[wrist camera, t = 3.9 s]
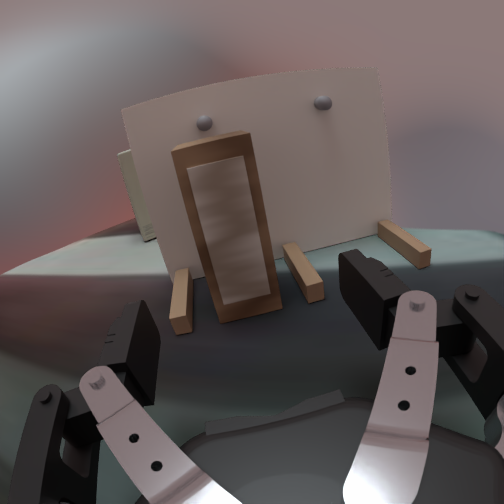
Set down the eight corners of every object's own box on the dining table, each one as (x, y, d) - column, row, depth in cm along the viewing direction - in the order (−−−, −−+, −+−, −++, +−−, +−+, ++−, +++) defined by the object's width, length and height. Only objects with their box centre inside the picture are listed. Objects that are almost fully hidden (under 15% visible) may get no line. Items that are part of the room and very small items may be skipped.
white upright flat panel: (165, 337, 21) (86, 106, 13) (173, 277, 28) (124, 109, 21) (436, 262, 22) (430, 59, 15) (385, 225, 30) (370, 69, 22)
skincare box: (174, 231, 40) (150, 143, 34) (144, 243, 38) (117, 154, 33) (165, 220, 45) (144, 144, 40) (139, 230, 44) (116, 153, 38)
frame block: (220, 325, 21) (170, 151, 16) (216, 290, 25) (177, 144, 20) (283, 309, 21) (250, 132, 16) (269, 277, 25) (240, 130, 20)
